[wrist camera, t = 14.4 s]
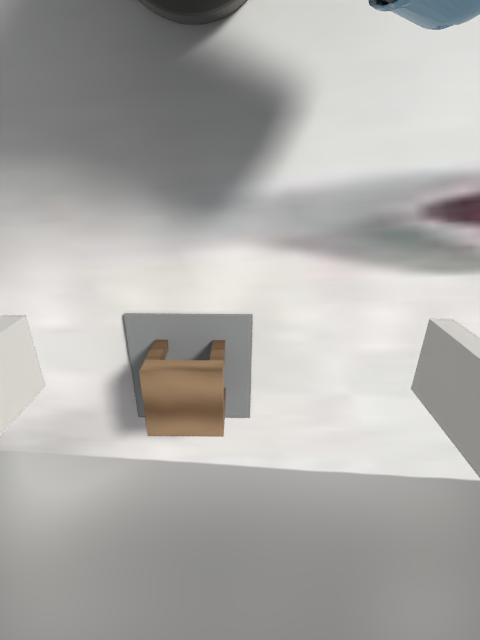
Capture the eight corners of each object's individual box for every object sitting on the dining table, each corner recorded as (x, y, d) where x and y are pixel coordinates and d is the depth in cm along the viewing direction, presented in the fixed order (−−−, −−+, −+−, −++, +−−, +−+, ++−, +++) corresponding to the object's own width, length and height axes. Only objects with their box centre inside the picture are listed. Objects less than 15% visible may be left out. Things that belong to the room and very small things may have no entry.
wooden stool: (155, 339, 43) (138, 371, 36) (225, 340, 43) (222, 372, 36) (161, 396, 47) (147, 435, 40) (225, 397, 47) (223, 436, 40)
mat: (124, 313, 42) (123, 314, 42) (252, 314, 42) (252, 315, 42) (139, 414, 49) (138, 416, 48) (249, 415, 49) (249, 417, 48)
